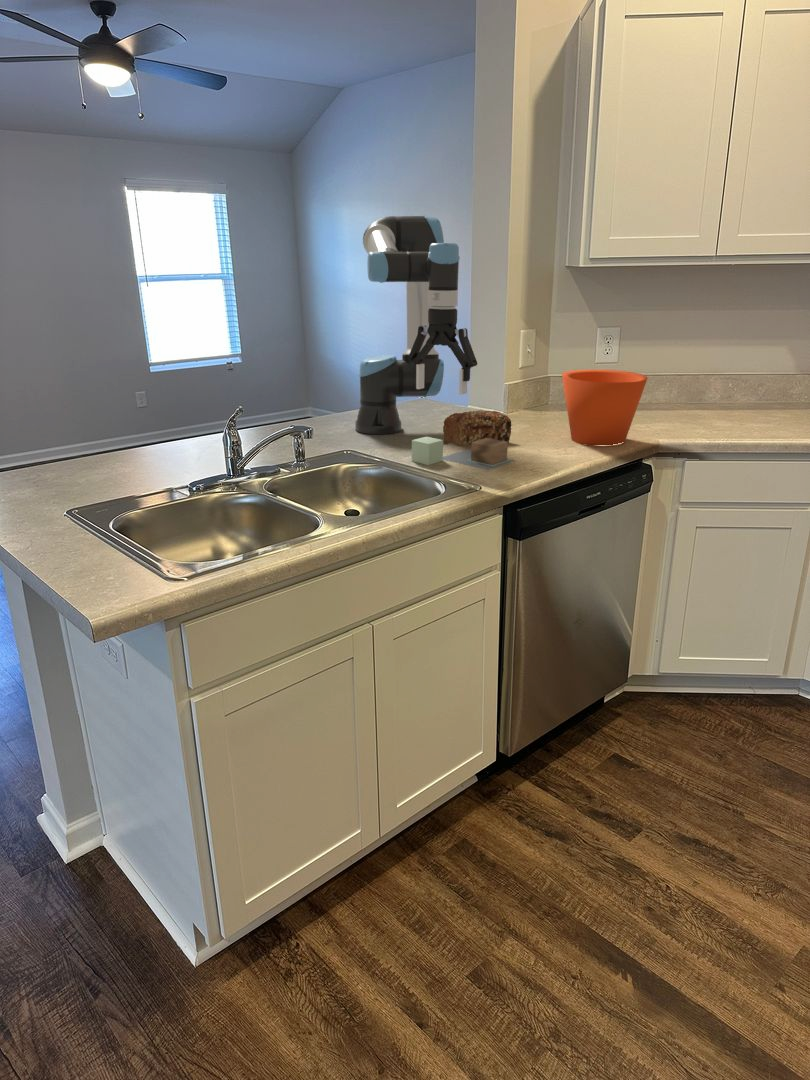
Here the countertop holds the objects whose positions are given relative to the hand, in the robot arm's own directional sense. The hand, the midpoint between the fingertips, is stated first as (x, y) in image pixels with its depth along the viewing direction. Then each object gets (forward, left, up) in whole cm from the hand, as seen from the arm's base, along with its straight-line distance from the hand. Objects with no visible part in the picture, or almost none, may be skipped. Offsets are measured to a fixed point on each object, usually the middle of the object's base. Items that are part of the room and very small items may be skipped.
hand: (441, 391), depth 198 cm
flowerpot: (+19, +54, -20) cm, 61 cm away
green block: (-1, -4, -20) cm, 20 cm away
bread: (-6, +25, -20) cm, 33 cm away
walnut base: (+11, +8, -19) cm, 23 cm away
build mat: (+8, +7, -20) cm, 22 cm away
